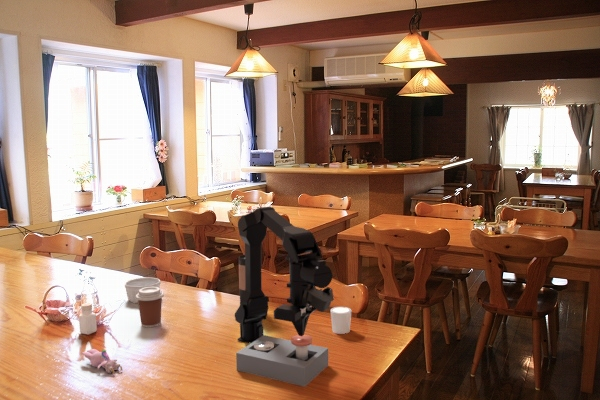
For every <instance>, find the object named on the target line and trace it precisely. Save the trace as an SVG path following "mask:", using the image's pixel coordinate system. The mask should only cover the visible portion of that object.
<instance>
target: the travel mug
mask: <svg viewBox="0 0 600 400" xmlns="http://www.w3.org/2000/svg"><path fill="white" fill-rule="evenodd" d="M238 287H239V288H238V289H239V299H240V298H241V296H242V294H243V293H244V291H245V254H240V255H239V256H238Z"/></svg>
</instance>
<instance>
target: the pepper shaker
mask: <svg viewBox="0 0 600 400" xmlns="http://www.w3.org/2000/svg"><path fill="white" fill-rule="evenodd" d="M78 323H79V333H80V334H83V335H87V336H88V335H91V334H94V333H95V332H97V331H98V326H97V314H96V313H95V312H93V303H91V302H86V303H82V304H81V313H80V314H79V316H78Z"/></svg>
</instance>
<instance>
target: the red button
mask: <svg viewBox="0 0 600 400" xmlns="http://www.w3.org/2000/svg"><path fill="white" fill-rule="evenodd" d="M290 341H291V343H292V344H293V345H295V346H296V359H298V360H302V361H304V360H307V359H308V345H312V343H313V337H312V336H311V335H309V334H304V335H303V336H299V335H298V334H296V335H293V336H292V337H291V338H290Z"/></svg>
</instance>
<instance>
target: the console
mask: <svg viewBox="0 0 600 400" xmlns="http://www.w3.org/2000/svg"><path fill="white" fill-rule="evenodd" d="M260 341H270V342H273V343H274V349H273V350H271V351H270V352H268V353H266V352H261V351H257V350H254V344H255V343H257V342H260ZM235 359H236V371H238V372H243V373H247V374H251V375H255V376H259V377H262V378H267V379H272V380H275V381H280V382H283V383H288V384H292V385H296V386H299V387H303V388H305V387H306V386H307V385H308V384H309V383H311V382H312V381H313V380H314V379H315V378H316V377H317V376H318V375H319V374H321V372H322V371H325V369H326V368H327V367H328V366H329V348H328V347H326V346H325V347H324V346H320V345H314V344H310V345H308V359H307V360H304V361H302V360H298V359H296V346H295V345H293V344H292V343H291V339H284V338H281V337H280V338H279V337H276V336H275V337H274V336H270V335H266V334H265V335H263V336H262V337H260V338H259V339H257V340H255V341H254V342H252V343H248V345H246V346H245V347H243V348H242V349H240V350H238V351H237V352H236V356H235Z"/></svg>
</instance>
